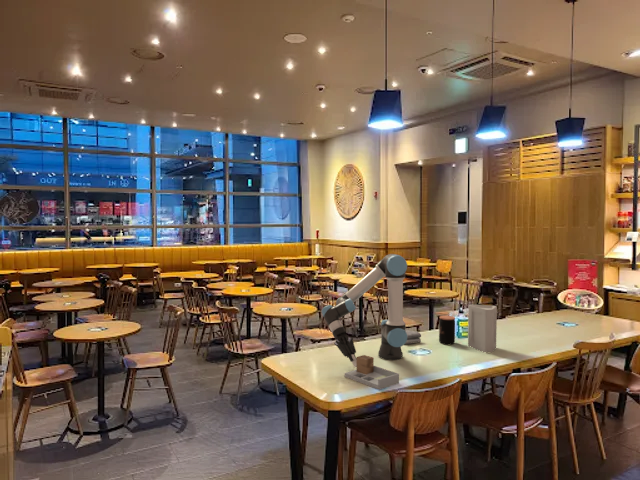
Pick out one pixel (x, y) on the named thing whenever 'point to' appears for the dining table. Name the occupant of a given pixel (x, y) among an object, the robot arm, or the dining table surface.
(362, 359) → the block
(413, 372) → the dining table surface
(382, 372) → the deck
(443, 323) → the coffee jar
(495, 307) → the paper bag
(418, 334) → the towel
